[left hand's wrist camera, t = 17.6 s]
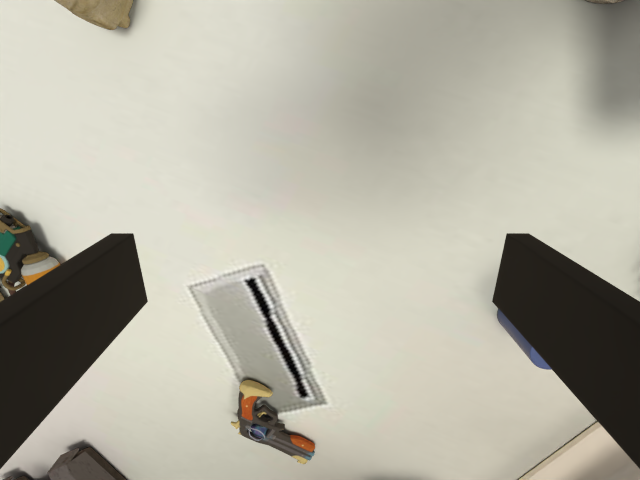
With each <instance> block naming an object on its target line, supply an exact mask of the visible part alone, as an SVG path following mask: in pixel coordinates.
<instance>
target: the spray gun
mask: <svg viewBox="0 0 640 480" xmlns="http://www.w3.org/2000/svg"><path fill="white" fill-rule="evenodd" d="M0 212H1V213H3V214H4V215H3V216H1V215H0V278H2V284H3V285H4V286H5V287H6V288H7V289H8V290H9V293H10V295H12V294H14V293H15V292H16V290H17V289H19V288H21V287H23V286H24V285H25V284H27V285H28V284H30V283H32V282H33V281H35V280H37V279H38V278H40V277H41V276H43V275H45V274H46V273H48V272H50V271H51V270H53V269H55V268H56V267H58V266H59V265H60V263H59V262H58V261H57V260H56V259H55V258H53V257H49V254H48V253H47V252H40V251H39V248H38V246H37V243H36V241H35V238H34V236H33V233H32V231H31V230H30V229H31V228H30V226H25V225H23V224H22V223H21V222H19V221H18V220H17V219H15V218H14V217H13V216H11V215H10V214H9V213H7V212H6V211H5V210H3V209H0ZM17 225H19V226H20V227H16V226H17ZM21 227H22V229H21ZM26 255H27V256H26ZM25 256H26V257H25ZM22 276H23V278H24V280H23V279H22V278H21V277H22ZM6 280H8V283H7V281H6ZM17 281H19V282H21V284H19V285H18V286H15V287H14V284H15V282H17ZM25 282H26V283H25ZM0 288H1V286H0ZM2 300H4V297H3V296H2V294H1V293H0V302H1V301H2Z"/></svg>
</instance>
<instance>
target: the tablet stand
mask: <svg viewBox="0 0 640 480" xmlns="http://www.w3.org/2000/svg"><path fill="white" fill-rule="evenodd" d="M519 480H640V469H639V468H638V466H637V465H636V464H635V463H634V462H633V461H632V460H631V459H630V457H629V456H628V455H627V454H626V453H625V452H624V451H623V449H622V448H621V447H620V446H619V445H618V444H617V443H616V441H615V440H614V439H613V438H612V437H611V436H610V435H609V434H608V432H607V431H606V430H605V429H604V428H603V427H602V426H601V424H600V423H599V422H597V423H595V424H594V425H592V426H591V427H590V428H588V429H587V430H586V431H584V432H583V433H582V434H580V435H579V436H577V437H576V438H575V439H573V440H572V441H571V442H569V443H568V444H567V445H565V446H564V447H562V448H561V449H560V450H558V451H557V452H556V453H554V454H553V455H552V456H550V457H549V458H548V459H546V460H545V461H543V462H542V463H541V464H539V465H538V466H537V467H535V468H534V469H533V470H531V471H530V472H528V473H527V474H526V475H524V476H523V477H522V478H520V479H519Z"/></svg>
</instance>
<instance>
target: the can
mask: <svg viewBox="0 0 640 480" xmlns="http://www.w3.org/2000/svg"><path fill="white" fill-rule="evenodd" d="M497 316H498V320H499V322H500V324H501V325H502V326H503V327H504V328H505V330H506V331H507V332H508V333H509V334H510V336H511V337H512V338H513V339H514V341H515V342H516V343H517V344H518V345H519V347H520V348H521V349H522V350H523V352H524V353H525V354H526V355H527V356H528V358H529V359H530V360H531V361H532V362H533V364H534V365H536V366H537V367H539V368H542V369H551V368H550V366H549V365H548V364H547V363H546V362H545V361H544V360H543V358H542V357H541V356H540V355H539V354H538V353H537V352H536V351H535V349H534V348H533V347H532V346H531V345H530V344H529V343H528V341H527V340H526V339H525V338H524V337H523V336H522V335H521V333H520V332H519V331H518V330H517V329H516V328H515V327H514V326H513V324H512V323H511V322H510V321H509V320H508V319H507V318H506V316H505V315H504V314H503V313H502V312H501V311H500V310H499V309H498V314H497Z"/></svg>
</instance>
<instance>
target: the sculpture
mask: <svg viewBox="0 0 640 480" xmlns="http://www.w3.org/2000/svg"><path fill="white" fill-rule="evenodd" d="M55 1H56V2H58V3H59V4H61V5H62V6H64V7H65V8H67V9H68V10H69V11H71V12H72V13H73V14H75V15H76V16H78V17H80V18H82V19H84V20H86V21H88V22H90V23H92V24H94V25H97V26H100V27H103V28H106V29H109V30H114V29H116V28H117V26H120V27H123V28H128V27H129V24H130V18H129V17H128V14H129V11H130V9H131V6H132V3H133V0H55Z"/></svg>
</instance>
